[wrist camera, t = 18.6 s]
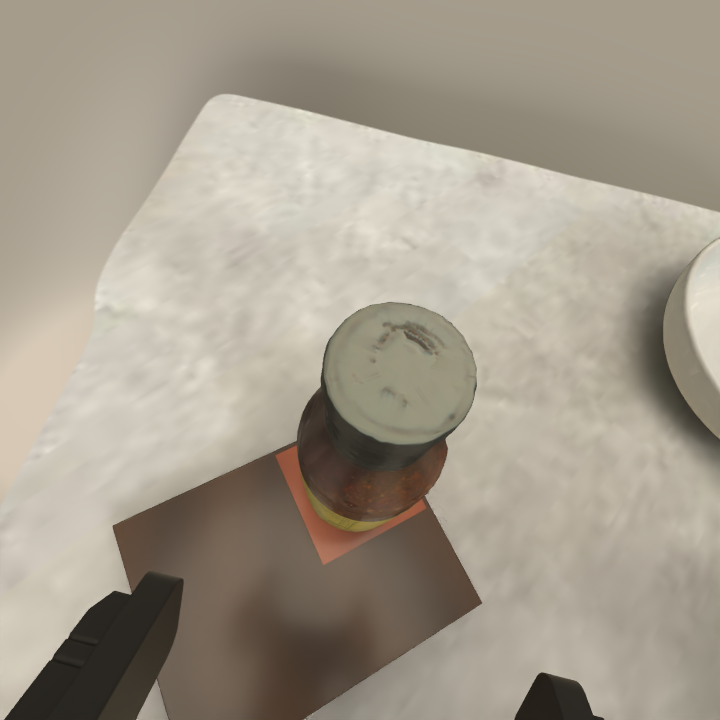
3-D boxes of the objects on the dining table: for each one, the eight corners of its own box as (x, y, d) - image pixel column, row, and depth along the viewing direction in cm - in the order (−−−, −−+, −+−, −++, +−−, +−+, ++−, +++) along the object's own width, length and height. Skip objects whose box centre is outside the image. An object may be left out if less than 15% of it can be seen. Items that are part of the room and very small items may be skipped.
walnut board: (372, 411, 33) (375, 404, 32) (474, 601, 29) (483, 603, 27) (121, 527, 28) (111, 525, 27) (196, 779, 24) (189, 793, 22)
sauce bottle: (374, 422, 31) (465, 229, 13) (416, 508, 29) (589, 416, 11) (285, 460, 30) (252, 298, 12) (323, 555, 28) (352, 533, 10)
